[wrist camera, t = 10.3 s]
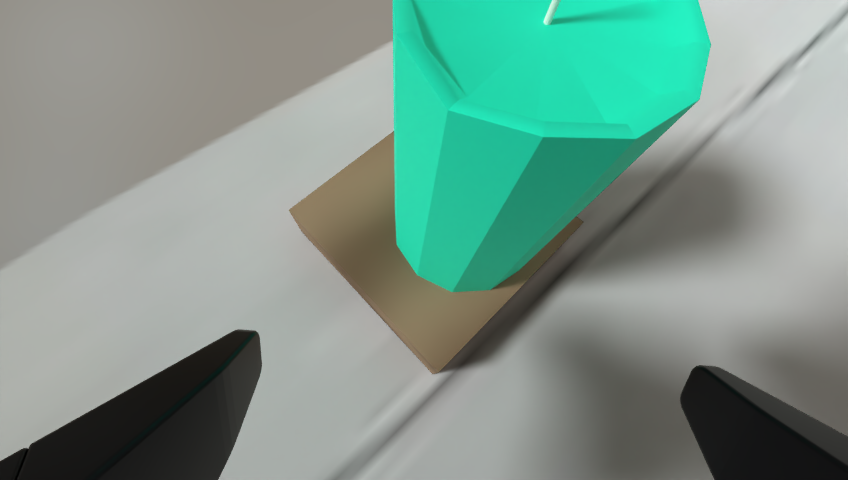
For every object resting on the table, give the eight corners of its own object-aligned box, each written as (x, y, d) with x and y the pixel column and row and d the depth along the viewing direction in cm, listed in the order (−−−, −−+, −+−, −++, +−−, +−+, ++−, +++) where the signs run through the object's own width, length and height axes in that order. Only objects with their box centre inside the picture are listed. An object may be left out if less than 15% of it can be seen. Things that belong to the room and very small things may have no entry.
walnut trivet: (561, 241, 20) (583, 222, 17) (433, 374, 17) (438, 372, 15) (434, 128, 21) (439, 96, 19) (302, 231, 19) (288, 210, 17)
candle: (453, 140, 18) (544, -251, 7) (559, 221, 17) (866, -92, 6) (363, 228, 16) (291, -110, 5) (474, 325, 15) (687, 157, 4)
